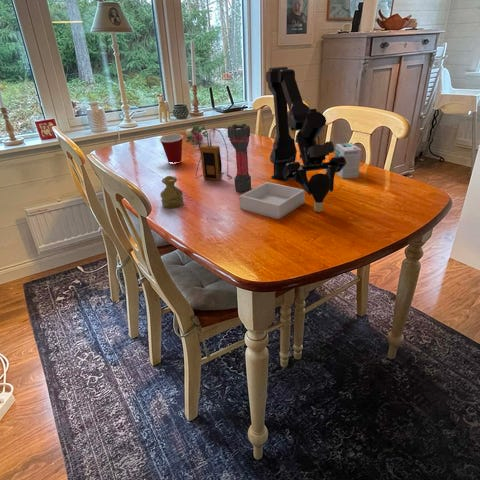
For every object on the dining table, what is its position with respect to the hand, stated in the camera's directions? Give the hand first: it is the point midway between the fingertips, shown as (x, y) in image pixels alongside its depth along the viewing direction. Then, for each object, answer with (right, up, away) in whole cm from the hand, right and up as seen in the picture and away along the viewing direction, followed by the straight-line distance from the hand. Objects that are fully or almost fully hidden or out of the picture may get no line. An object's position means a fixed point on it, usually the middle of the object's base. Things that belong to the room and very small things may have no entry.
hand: (321, 192), depth 108 cm
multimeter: (-34, +12, +40) cm, 53 cm away
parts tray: (-14, -3, +10) cm, 17 cm away
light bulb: (0, -5, +4) cm, 7 cm away
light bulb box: (+17, +12, +34) cm, 40 cm away
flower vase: (-49, +39, +91) cm, 110 cm away
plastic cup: (-55, +21, +60) cm, 84 cm away
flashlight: (-23, +4, +24) cm, 34 cm away
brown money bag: (-47, -2, +16) cm, 50 cm away
